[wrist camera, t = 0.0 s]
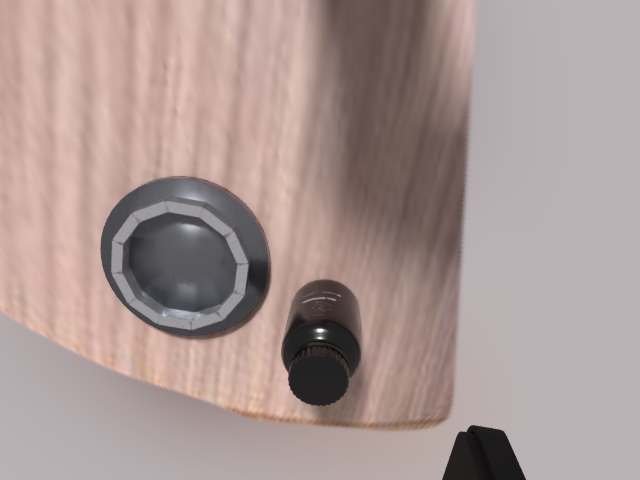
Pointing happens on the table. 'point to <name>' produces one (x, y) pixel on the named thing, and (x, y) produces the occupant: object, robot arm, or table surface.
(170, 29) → the table surface
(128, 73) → the table surface
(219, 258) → the rosette plate
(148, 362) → the table surface
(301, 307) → the supplement bottle
